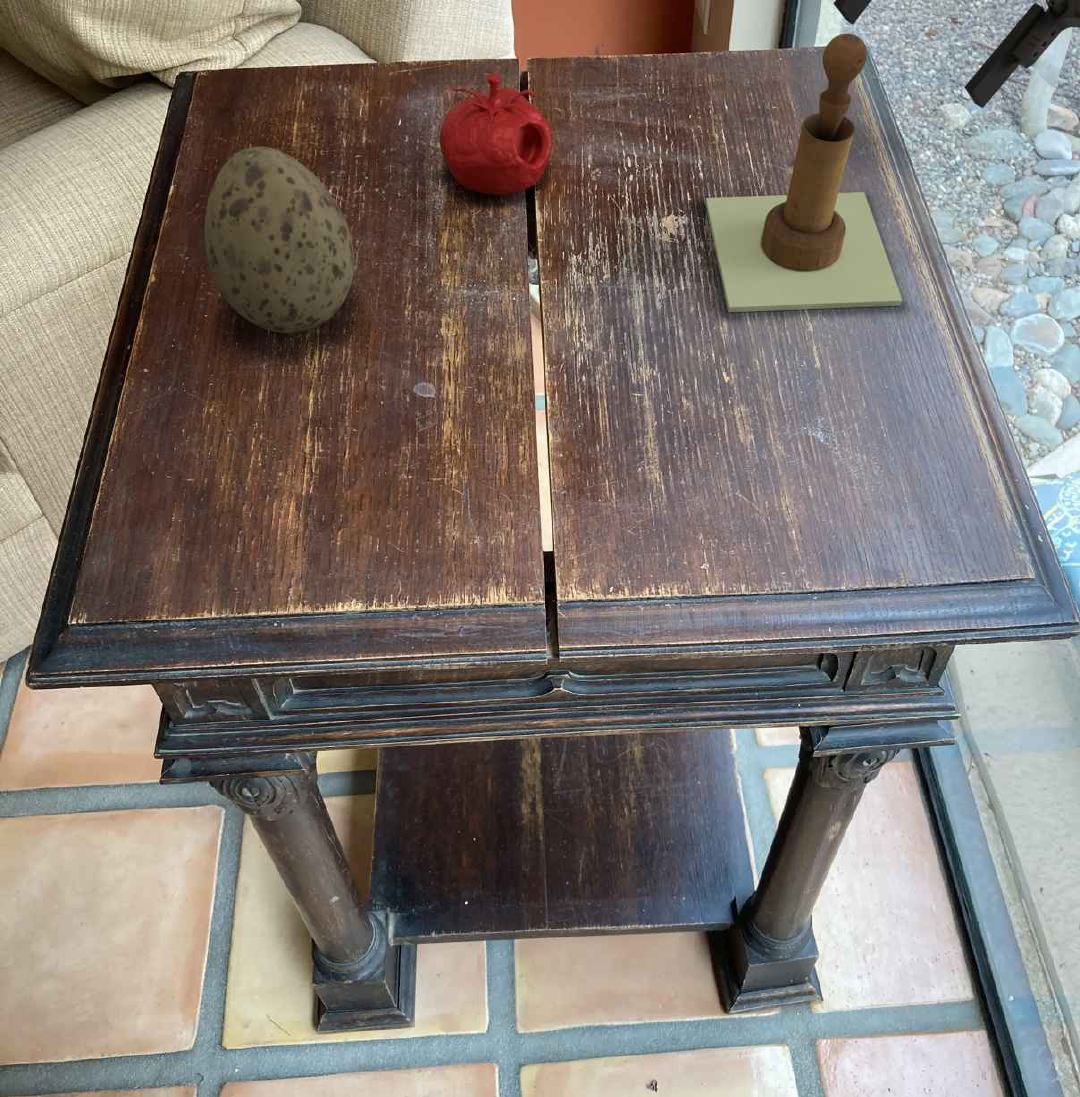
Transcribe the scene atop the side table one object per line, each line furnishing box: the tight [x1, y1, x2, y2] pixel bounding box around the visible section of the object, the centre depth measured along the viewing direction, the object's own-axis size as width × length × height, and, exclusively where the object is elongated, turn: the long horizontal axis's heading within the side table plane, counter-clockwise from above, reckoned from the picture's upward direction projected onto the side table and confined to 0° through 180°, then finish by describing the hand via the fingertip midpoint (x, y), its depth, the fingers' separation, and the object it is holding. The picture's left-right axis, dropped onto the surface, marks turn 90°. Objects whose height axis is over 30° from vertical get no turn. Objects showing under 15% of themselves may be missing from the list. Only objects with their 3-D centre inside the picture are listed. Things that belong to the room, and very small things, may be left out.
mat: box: [704, 191, 903, 313], centre depth 88 cm, size 14×14×1 cm
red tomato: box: [438, 72, 553, 196], centre depth 91 cm, size 10×10×9 cm
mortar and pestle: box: [761, 32, 868, 271], centre depth 81 cm, size 7×6×18 cm
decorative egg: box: [204, 146, 355, 334], centre depth 79 cm, size 11×11×15 cm
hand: (905, 54), depth 78 cm, fingers open, 13 cm apart
